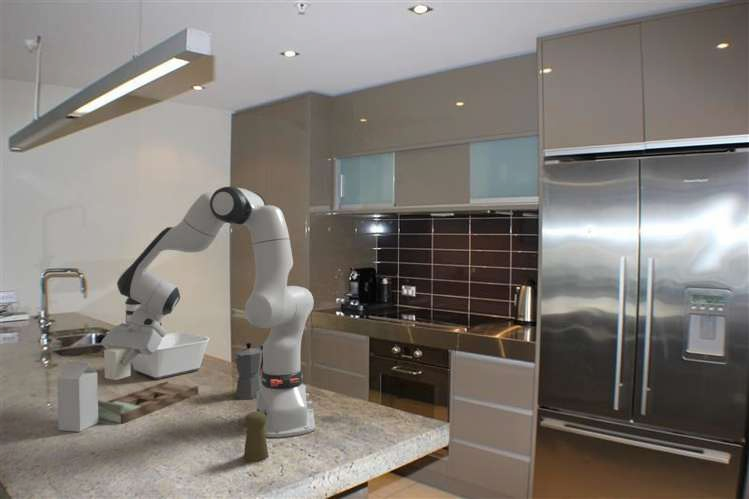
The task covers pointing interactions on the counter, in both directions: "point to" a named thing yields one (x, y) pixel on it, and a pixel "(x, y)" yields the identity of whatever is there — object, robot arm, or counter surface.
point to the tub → (173, 356)
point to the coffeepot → (249, 371)
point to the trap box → (143, 402)
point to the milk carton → (77, 397)
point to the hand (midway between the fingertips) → (115, 362)
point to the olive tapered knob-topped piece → (255, 437)
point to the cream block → (116, 363)
